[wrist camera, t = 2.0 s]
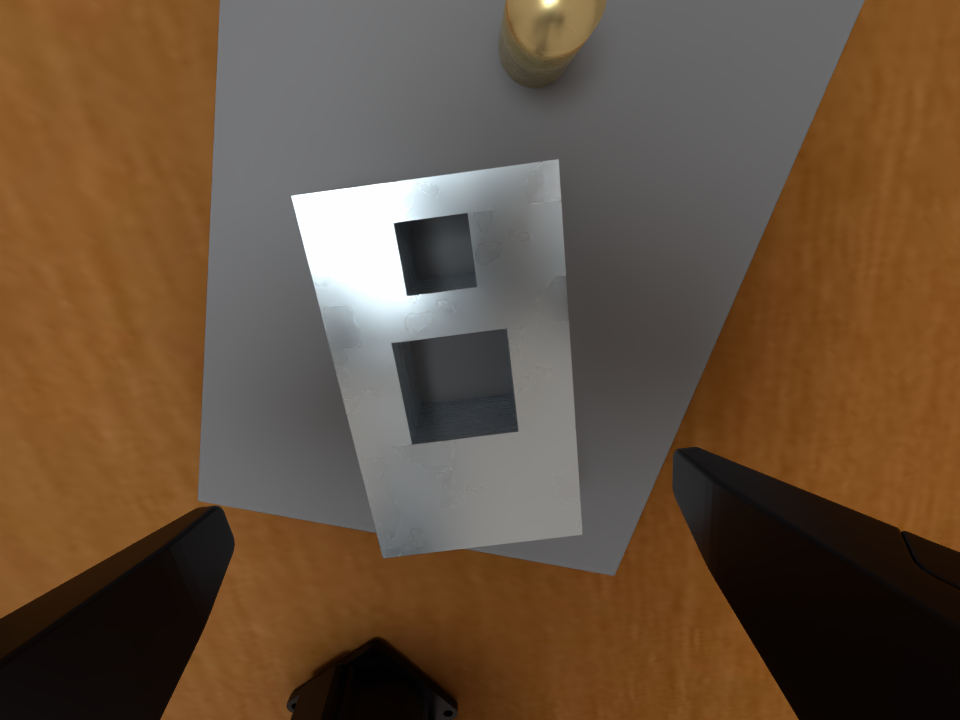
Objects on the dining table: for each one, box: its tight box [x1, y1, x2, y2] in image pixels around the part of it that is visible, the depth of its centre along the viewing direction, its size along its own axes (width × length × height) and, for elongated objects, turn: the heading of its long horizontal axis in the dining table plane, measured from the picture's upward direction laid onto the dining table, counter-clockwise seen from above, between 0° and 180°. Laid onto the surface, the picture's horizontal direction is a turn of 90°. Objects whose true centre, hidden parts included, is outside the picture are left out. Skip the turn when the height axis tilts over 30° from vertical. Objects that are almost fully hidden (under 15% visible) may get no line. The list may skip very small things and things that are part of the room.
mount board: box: [198, 0, 864, 576], centre depth 16 cm, size 26×18×1 cm
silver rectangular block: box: [292, 159, 583, 558], centre depth 15 cm, size 12×7×3 cm, turn 7°
